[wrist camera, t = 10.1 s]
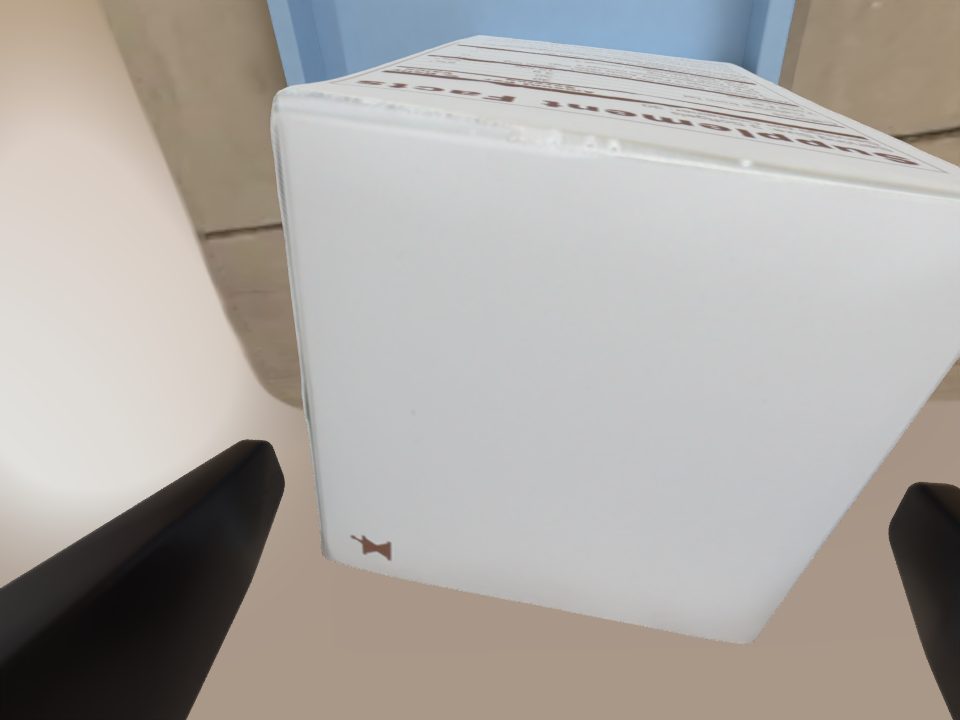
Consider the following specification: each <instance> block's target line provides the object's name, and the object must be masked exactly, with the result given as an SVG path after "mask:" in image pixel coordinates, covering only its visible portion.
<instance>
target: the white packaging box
mask: <svg viewBox="0 0 960 720" xmlns="http://www.w3.org/2000/svg"><path fill="white" fill-rule="evenodd" d="M270 126H271V142H272V147H273V153H274V161H275V170H276V180H277V189H278V198H279V205H280V211H281V218H282V224H283V231H284V237H285V246H286V255H287V263H288V272H289V280H290V289H291V297H292V306H293V314H294V321H295V329H296V337H297V344H298V353H299V361H300V372H301V383H302V399H303V408H304V414H305V419H306V423H307V428H308V435H309V442H310V452H311V459H312V467H313V474H314V483H315V491H316V500H317V508H318V517H319V525H320V533H321V550H322V555H323V556H324V557H325V558H326V559H328V560H331V561H334V562H337V563H340V564H343V565H347V566H351V567H355V568H359V569H362V570H366V571H370V572H375V573H378V574H383V575H387V576H392V577H397V578H401V579H406V580H411V581H415V582H420V583H425V584H430V585H435V586H440V587H445V588H450V589H456V590H461V591H466V592H471V593H476V594H482V595H486V596H492V597H496V598H502V599H507V600H512V601H518V602H523V603H529V604H535V605H539V606H544V607H550V608H554V609H559V610H564V611H569V612H574V613H579V614H584V615H589V616H594V617H599V618H604V619H609V620H614V621H620V622H625V623H630V624H635V625H640V626H646V627H651V628H655V629H658V630H665V631H671V632H675V633H679V634H683V635H689V636H695V637H701V638H706V639H711V640H718V641H725V642H733V643H740V644H748V643H751V642H753V641H755V640H756V639H757V637H758V636H759V635H760V633H761V632H762V630H763V629H764V627H765V626H766V624H767V623H768V622H769V620H770V619H771V617H772V616H773V614H774V613H775V612H776V610H777V608H778V607H779V606H780V604H781V603H782V601H783V600H784V599H785V597H786V596H787V594H788V593H789V592H790V590H791V589H792V588H793V586H794V585H795V583H796V582H797V580H798V579H799V577H800V576H801V575H802V573H803V572H804V570H805V569H806V567H807V566H808V564H809V563H810V562H811V560H812V559H813V558H814V556H815V555H816V554H817V552H818V551H819V549H820V548H821V547H822V545H823V544H824V543H825V541H826V540H827V538H828V537H829V536H830V534H831V533H832V532H833V530H834V529H835V528H836V526H837V525H838V523H839V522H840V521H841V519H842V518H843V516H844V515H845V514H846V512H847V511H848V510H849V508H850V507H851V506H852V504H853V502H854V501H855V500H856V499H857V497H858V496H859V494H860V493H861V492H862V490H863V489H864V488H865V486H866V485H867V483H868V482H869V481H870V479H871V478H872V476H873V475H874V474H875V472H876V471H877V469H878V468H879V467H880V465H881V464H882V463H883V461H884V460H885V458H886V457H887V456H888V454H889V453H890V451H891V450H892V449H893V447H894V446H895V444H896V443H897V442H898V440H899V439H900V438H901V436H902V435H903V433H904V432H905V431H906V429H907V428H908V426H909V425H910V424H911V422H912V421H913V420H914V418H915V417H916V415H917V414H918V413H919V411H920V410H921V408H922V407H923V406H924V404H925V403H926V401H927V400H928V399H929V397H930V396H931V395H932V393H933V392H934V391H935V389H936V388H937V386H938V385H939V384H940V382H941V381H942V380H943V378H944V377H945V376H946V374H947V373H948V371H949V370H950V369H951V367H952V366H953V365H954V363H955V362H956V361H957V359H958V358H959V356H960V167H958V166H956V165H953V164H951V163H949V162H947V161H944V160H942V159H940V158H937V157H935V156H933V155H930V154H928V153H926V152H923V151H921V150H919V149H917V148H915V147H913V146H911V145H909V144H907V143H905V142H903V141H901V140H898V139H896V138H894V137H891V136H889V135H887V134H885V133H882V132H880V131H878V130H875V129H873V128H871V127H868V126H866V125H864V124H861V123H859V122H857V121H855V120H852V119H850V118H847V117H845V116H843V115H840V114H838V113H836V112H833V111H831V110H828V109H826V108H824V107H822V106H820V105H818V104H816V103H814V102H812V101H810V100H807V99H805V98H803V97H801V96H799V95H796V94H794V93H792V92H790V91H789V90H787V89H785V88H783V87H780V86H778V85H776V84H774V83H773V82H770V81H767V80H765V79H763V78H761V77H759V76H757V75H755V74H753V73H751V72H749V71H747V70H745V69H744V68H742V67H739V66H737V65H734V64H732V63H727V62H715V61H706V60H696V59H688V58H680V57H672V56H664V55H655V54H647V53H639V52H631V51H622V50H613V49H604V48H596V47H587V46H578V45H569V44H561V43H553V42H544V41H533V40H523V39H515V38H506V37H495V36H484V35H477V36H473V37H469V38H465V39H460V40H456V41H453V42H450V43H447V44H443V45H441V46H438V47H435V48H431V49H428V50H425V51H422V52H419V53H416V54H413V55H410V56H407V57H404V58H401V59H398V60H395V61H392V62H389V63H386V64H383V65H380V66H377V67H374V68H371V69H367V70H364V71H361V72H358V73H354V74H351V75H347V76H344V77H340V78H336V79H332V80H327V81H321V82H315V83H308V84H300V85H293V86H290V87H287V88H285V89H283V90H280V91H278V93H277V94H276V95H275V97H274V98H273V104H272V111H271V118H270Z"/></svg>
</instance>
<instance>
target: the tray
mask: <svg viewBox="0 0 960 720" xmlns="http://www.w3.org/2000/svg"><path fill="white" fill-rule="evenodd" d="M795 1H796V0H267V4H268V8H269V12H270V16H271V20H272V24H273V29H274V33H275V37H276V41H277V45H278V49H279V53H280V58H281V62H282V66H283V70H284V74H285V78H286V82H287V86H288V87H290V86H293V85H300V84H308V83H315V82H321V81H327V80H332V79H336V78H340V77H344V76H347V75H351V74H354V73H358V72H361V71H364V70H367V69H371V68H374V67H377V66H380V65H383V64H386V63H389V62H392V61H395V60H398V59H401V58H404V57H407V56H410V55H413V54H416V53H419V52H422V51H425V50H428V49H431V48H435V47H438V46H441V45H443V44H447V43H450V42H453V41H456V40H460V39H465V38H469V37H473V36H477V35H484V36H495V37H506V38H515V39H523V40H533V41H544V42H553V43H561V44H569V45H578V46H587V47H596V48H604V49H613V50H622V51H631V52H639V53H647V54H655V55H664V56H672V57H680V58H688V59H696V60H706V61H715V62H727V63H732V64H734V65H737V66H739V67H742V68H744V69H745V70H747V71H749V72H751V73H753V74H755V75H757V76H759V77H761V78H763V79H765V80H767V81H770V82H773V83H774V84H776V85H778V82H779V77H780V73H781V68H782V63H783V58H784V53H785V49H786V44H787V39H788V34H789V30H790V25H791V20H792V15H793V10H794V6H795Z"/></svg>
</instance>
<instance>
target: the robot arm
mask: <svg viewBox="0 0 960 720" xmlns="http://www.w3.org/2000/svg"><path fill="white" fill-rule="evenodd" d="M284 487H285V481H284V476H283V473H282V470H281V467H280V465H279V462H278V459H277V457H276V454H275V451H274V449H273V447H272V445H271V444H270V443H269V442H267V441H263V440H242V441H240V442H238V443H236V444H234V445H233V446H231V447H230V448H228V449H226V450H225V451H223V452H221V453H220V454H219V455H217V456H215V457H213V458H212V459H210V460H208V461H207V462H205V463H204V464H202V465H200V466H199V467H197V468H196V469H194V470H192V471H191V472H189V473H188V474H186V475H184V476H182V477H181V478H179V479H178V480H176V481H174V482H173V483H171V484H169V485H168V486H166V487H164V488H163V489H161V490H160V491H158V492H156V493H155V494H153V495H152V496H150V497H149V498H147V499H145V500H143V501H142V502H140V503H138V504H137V505H135V506H134V507H132V508H131V509H129V510H127V511H126V512H124V513H122V514H121V515H119V516H117V517H116V518H114V519H112V520H111V521H109V522H108V523H106V524H104V525H103V526H101V527H100V528H98V529H96V530H94V531H93V532H91V533H90V534H88V535H86V536H85V537H83V538H81V539H80V540H78V541H77V542H75V543H73V544H72V545H70V546H68V547H67V548H66V549H64V550H62V551H60V552H59V553H57V554H55V555H54V556H52V557H51V558H49V559H47V560H46V561H44V562H42V563H41V564H39V565H37V566H36V567H34V568H33V569H31V570H29V571H28V572H26V573H24V574H23V575H21V576H20V577H18V578H16V579H15V580H13V581H11V582H10V583H8V584H7V585H5V586H3V587H2V588H0V720H186V719H187V717H188V715H189V713H190V711H191V708H192V706H193V704H194V702H195V700H196V698H197V696H198V694H199V692H200V690H201V688H202V685H203V683H204V681H205V679H206V677H207V675H208V673H209V671H210V668H211V666H212V664H213V662H214V660H215V658H216V655H217V654H218V652H219V650H220V647H221V645H222V643H223V641H224V639H225V637H226V635H227V633H228V631H229V628H230V626H231V624H232V622H233V620H234V618H235V616H236V614H237V612H238V609H239V607H240V605H241V603H242V601H243V599H244V597H245V594H246V592H247V590H248V588H249V586H250V583H251V581H252V578H253V576H254V573H255V571H256V568H257V566H258V563H259V560H260V557H261V554H262V552H263V549H264V546H265V543H266V540H267V538H268V535H269V532H270V529H271V526H272V523H273V521H274V518H275V515H276V512H277V509H278V507H279V504H280V501H281V498H282V495H283V492H284ZM889 541H890V544H891V548H892V551H893V554H894V557H895V561H896V564H897V567H898V570H899V573H900V576H901V580H902V583H903V586H904V589H905V593H906V596H907V599H908V602H909V605H910V609H911V612H912V615H913V618H914V621H915V625H916V628H917V631H918V634H919V637H920V640H921V643H922V646H923V649H924V652H925V655H926V658H927V660H928V662H929V665H930V667H931V670H932V672H933V675H934V677H935V680H936V682H937V684H938V686H939V689H940V691H941V693H942V696H943V698H944V700H945V702H946V705H947V707H948V709H949V712H950V714H951V716H952V719H953V720H960V489H959V488H958V487H956V486H954V485H950V484H943V483H928V482H918V483H914V484H913V485H911V486H910V487H909V488H908V490H907V491H906V493H905V495H904V497H903V499H902V501H901V503H900V505H899V507H898V508H897V510H896V512H895V514H894V516H893V518H892V520H891V522H890V525H889Z"/></svg>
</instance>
